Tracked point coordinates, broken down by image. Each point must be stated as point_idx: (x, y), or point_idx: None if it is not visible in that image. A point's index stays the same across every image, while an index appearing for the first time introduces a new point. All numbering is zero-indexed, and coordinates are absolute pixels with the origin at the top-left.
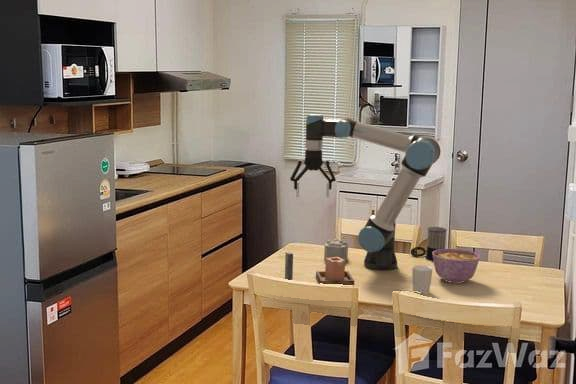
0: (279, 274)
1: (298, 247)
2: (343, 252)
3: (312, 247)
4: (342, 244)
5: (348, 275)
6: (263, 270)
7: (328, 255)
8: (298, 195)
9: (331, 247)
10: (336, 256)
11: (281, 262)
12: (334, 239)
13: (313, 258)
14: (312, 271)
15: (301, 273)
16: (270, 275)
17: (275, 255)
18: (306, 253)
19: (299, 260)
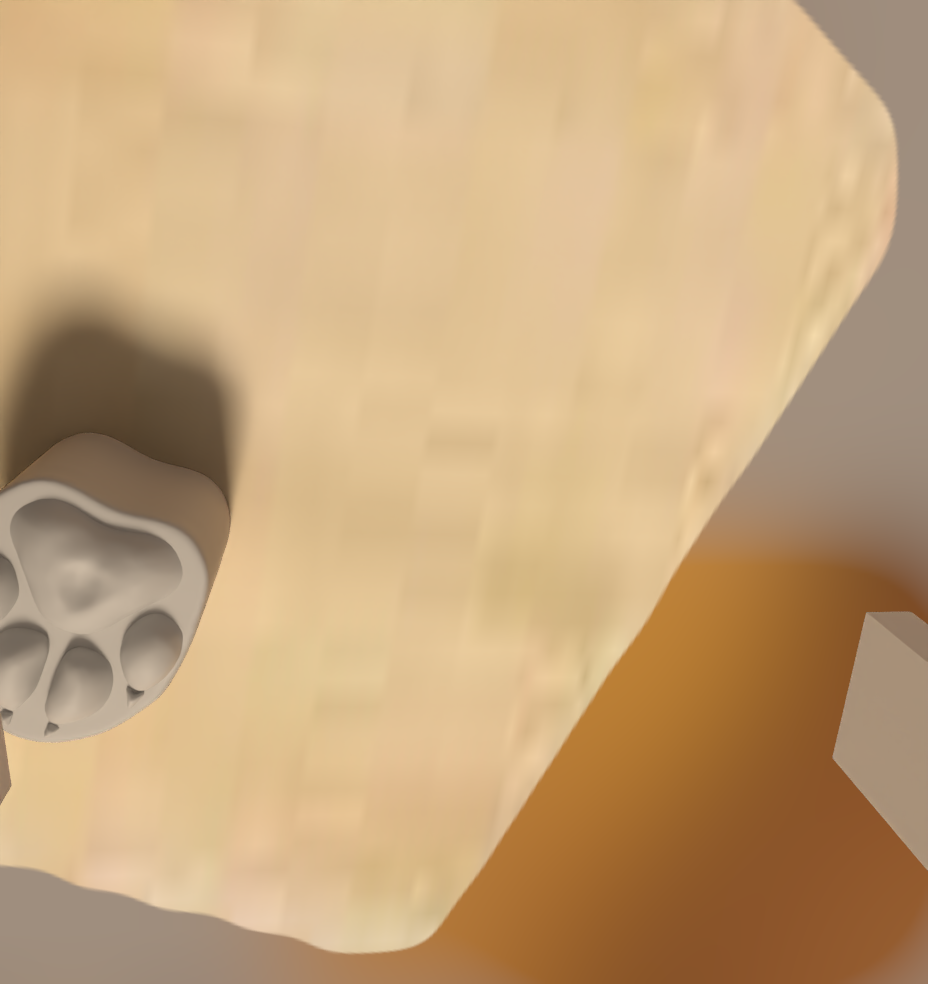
0: (719, 51)
1: (398, 861)
2: (23, 471)
3: (284, 865)
4: (7, 567)
5: None
6: (823, 200)
7: (188, 489)
8: (896, 635)
9: (143, 511)
10: (110, 458)
11: (618, 443)
12: (83, 696)
13: (322, 557)
14: (397, 128)
15: (513, 65)
16: (805, 24)
17: (623, 645)
18: (360, 702)
19: (455, 499)
